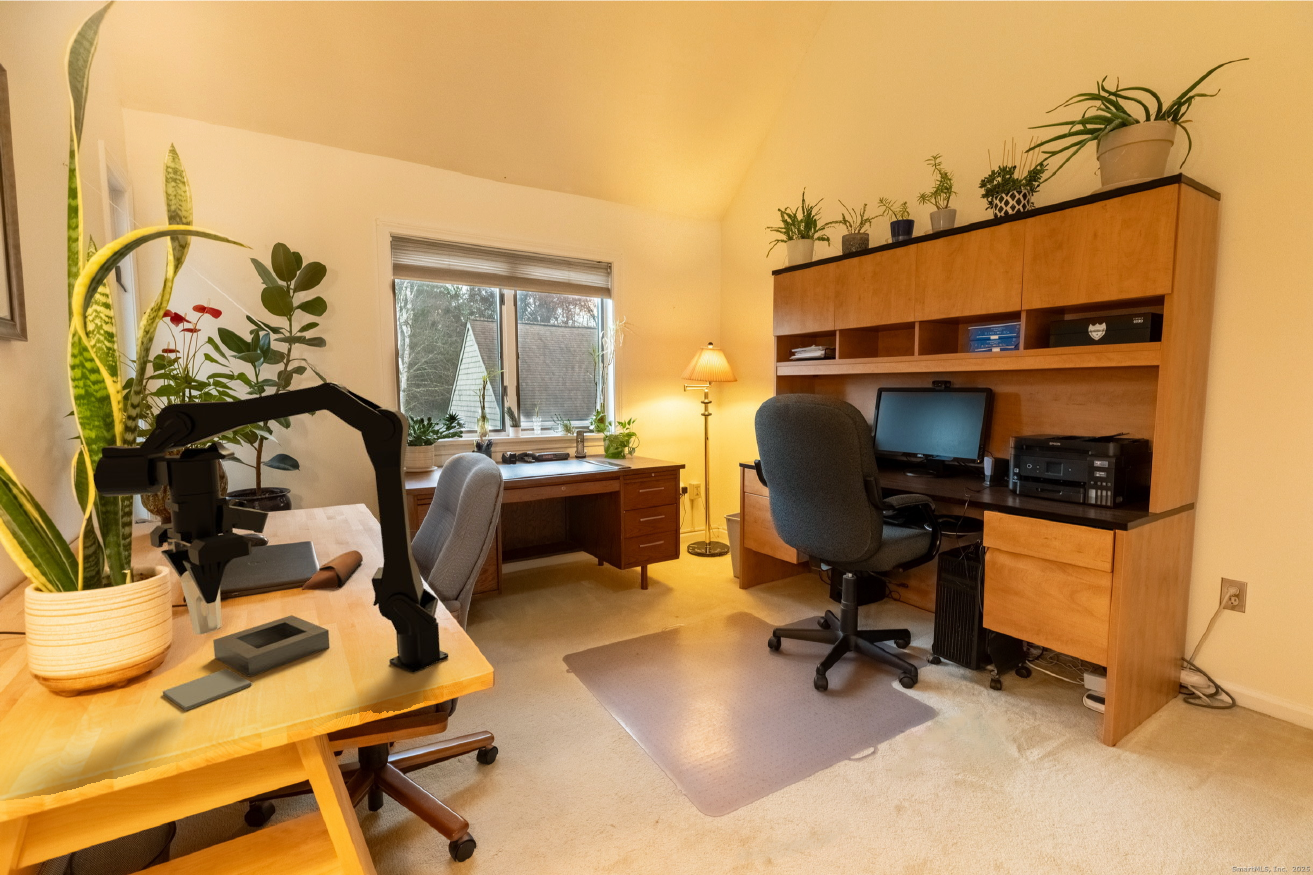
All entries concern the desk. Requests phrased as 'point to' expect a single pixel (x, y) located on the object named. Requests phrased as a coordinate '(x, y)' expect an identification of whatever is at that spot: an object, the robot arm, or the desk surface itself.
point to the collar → (270, 645)
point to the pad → (206, 689)
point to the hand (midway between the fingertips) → (204, 599)
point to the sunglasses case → (335, 571)
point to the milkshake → (201, 608)
